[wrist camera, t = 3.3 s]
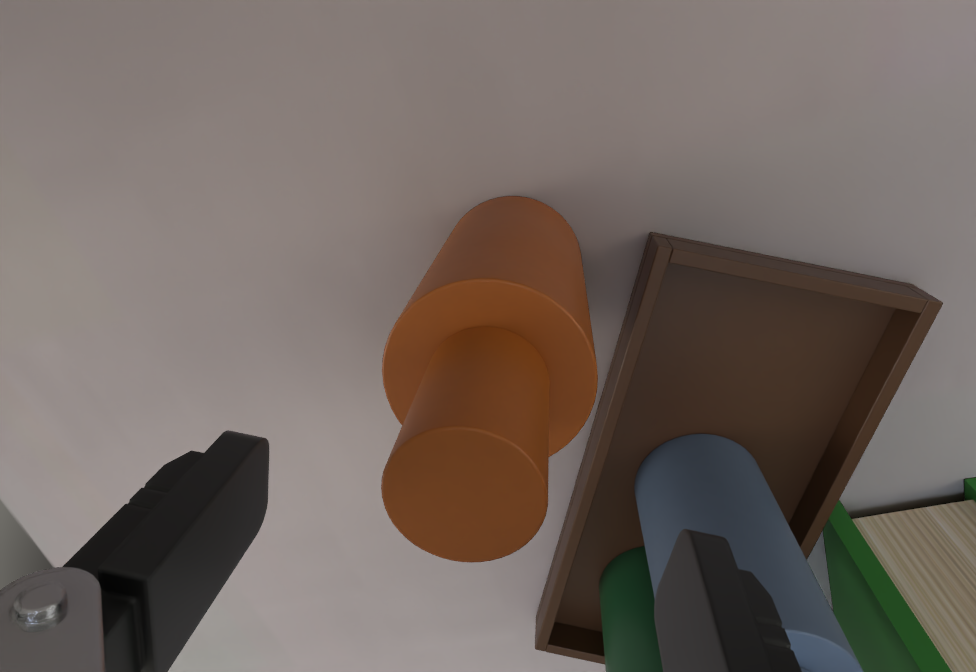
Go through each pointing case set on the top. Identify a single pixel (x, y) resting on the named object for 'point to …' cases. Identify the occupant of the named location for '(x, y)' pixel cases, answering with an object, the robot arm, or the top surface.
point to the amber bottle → (488, 381)
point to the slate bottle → (738, 536)
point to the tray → (730, 399)
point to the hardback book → (907, 585)
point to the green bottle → (629, 614)
